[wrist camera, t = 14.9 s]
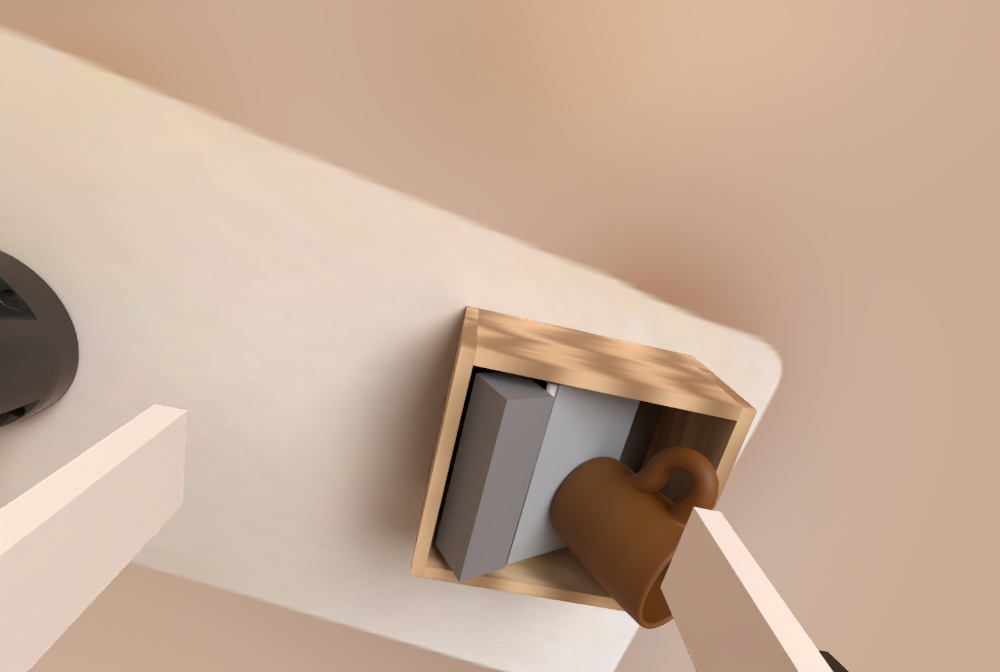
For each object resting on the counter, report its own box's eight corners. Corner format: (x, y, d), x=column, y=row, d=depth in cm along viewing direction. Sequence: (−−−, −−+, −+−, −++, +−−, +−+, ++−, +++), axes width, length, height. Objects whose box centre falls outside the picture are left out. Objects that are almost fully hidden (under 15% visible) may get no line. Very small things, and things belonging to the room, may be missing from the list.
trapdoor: (434, 549, 37) (457, 587, 34) (477, 366, 32) (509, 392, 30) (568, 515, 45) (596, 544, 42) (617, 364, 40) (653, 385, 37)
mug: (586, 400, 35) (695, 479, 28) (653, 402, 39) (763, 471, 32) (533, 540, 38) (620, 645, 30) (601, 527, 42) (691, 616, 35)
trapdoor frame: (426, 488, 46) (409, 575, 36) (466, 305, 41) (460, 347, 31) (629, 526, 48) (667, 618, 38) (693, 356, 43) (757, 410, 33)
